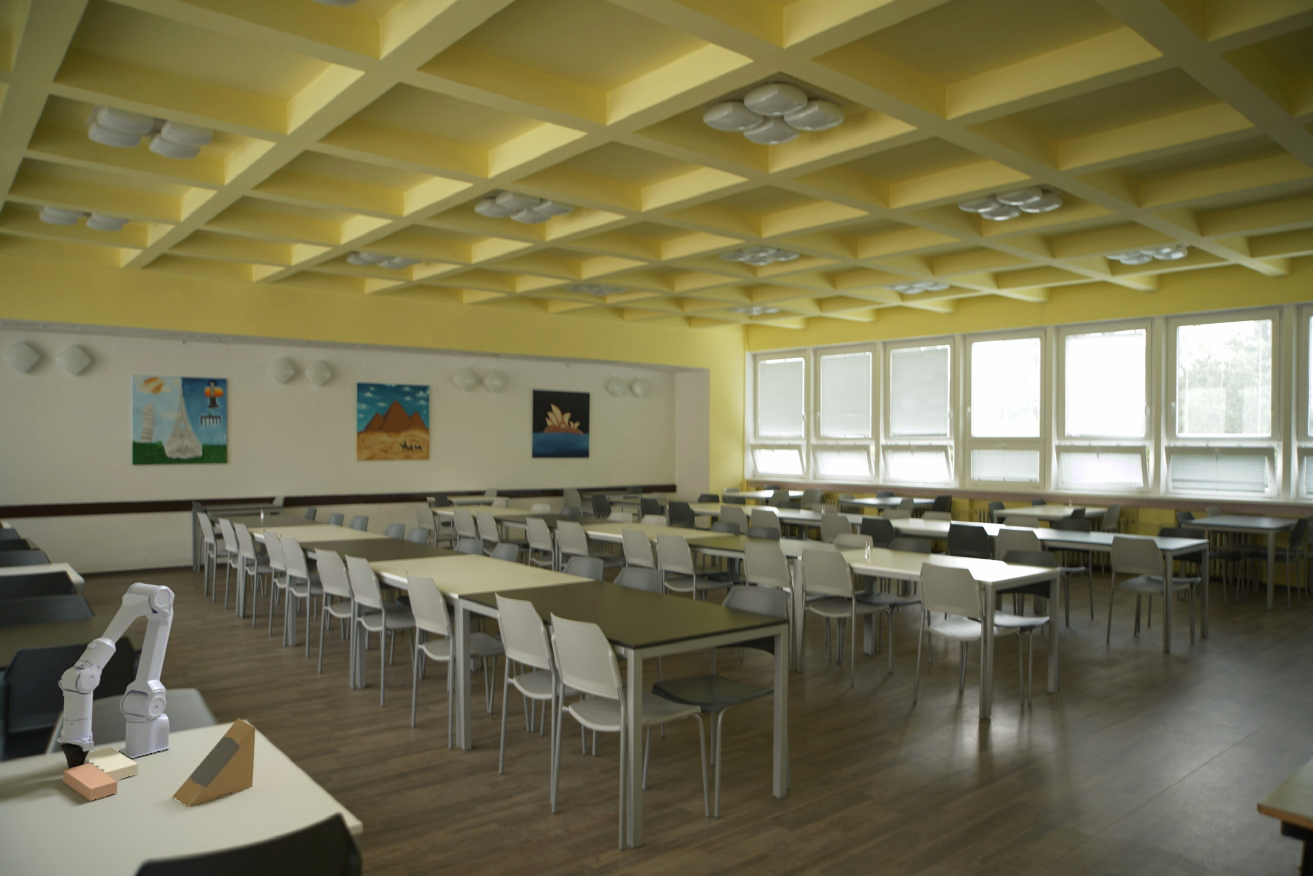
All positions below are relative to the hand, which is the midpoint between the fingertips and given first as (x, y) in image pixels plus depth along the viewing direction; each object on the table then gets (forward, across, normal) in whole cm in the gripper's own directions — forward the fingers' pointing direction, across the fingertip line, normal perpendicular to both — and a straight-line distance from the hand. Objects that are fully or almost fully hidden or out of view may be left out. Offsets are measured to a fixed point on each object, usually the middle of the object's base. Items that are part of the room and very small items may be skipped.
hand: (75, 772), depth 205 cm
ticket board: (+1, +2, +6) cm, 7 cm away
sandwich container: (+1, +32, +18) cm, 36 cm away
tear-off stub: (+1, +9, 0) cm, 9 cm away
